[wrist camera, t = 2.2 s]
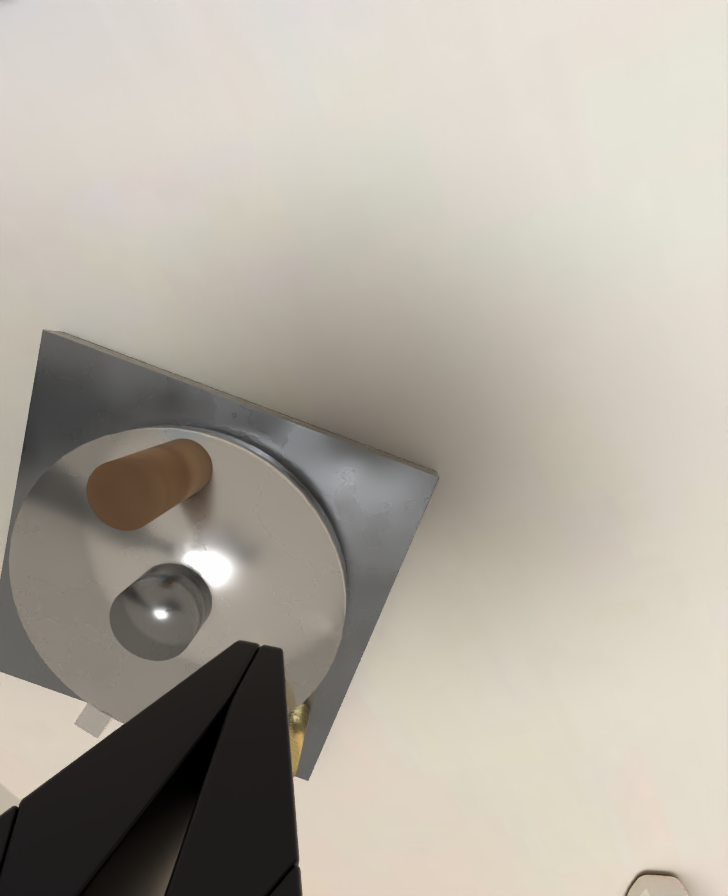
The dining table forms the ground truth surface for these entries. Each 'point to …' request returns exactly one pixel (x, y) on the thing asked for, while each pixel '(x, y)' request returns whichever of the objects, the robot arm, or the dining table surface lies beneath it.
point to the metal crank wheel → (173, 567)
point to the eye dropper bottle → (657, 886)
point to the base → (284, 438)
